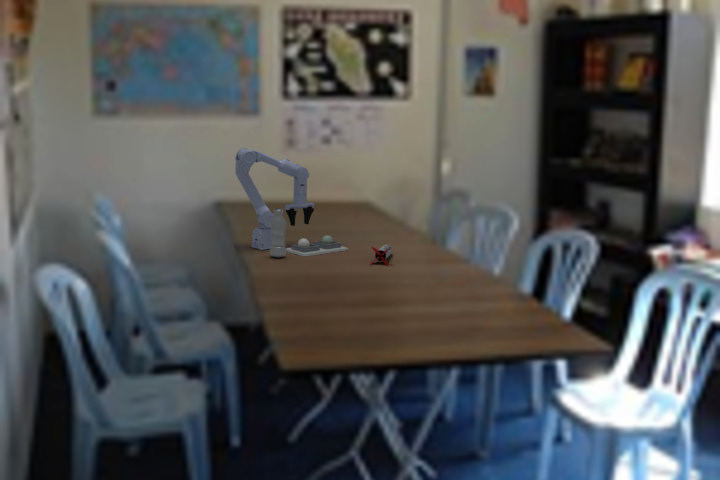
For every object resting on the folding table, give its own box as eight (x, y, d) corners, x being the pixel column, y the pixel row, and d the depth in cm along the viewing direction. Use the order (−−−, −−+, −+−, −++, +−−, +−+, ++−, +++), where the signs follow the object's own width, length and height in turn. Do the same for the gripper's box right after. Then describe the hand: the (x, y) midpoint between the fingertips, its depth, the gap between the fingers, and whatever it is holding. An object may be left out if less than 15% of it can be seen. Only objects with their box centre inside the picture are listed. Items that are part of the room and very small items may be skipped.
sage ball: (326, 248, 370) (326, 236, 369) (319, 246, 373) (319, 235, 372) (335, 247, 373) (335, 235, 372) (327, 245, 377) (328, 234, 376)
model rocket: (404, 250, 366) (389, 232, 366) (397, 257, 343) (382, 238, 344) (385, 266, 368) (370, 248, 369) (377, 274, 346) (361, 255, 346)
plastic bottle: (283, 259, 350) (284, 210, 346) (267, 258, 351) (268, 209, 347) (287, 256, 356) (288, 208, 352) (272, 255, 357) (272, 207, 353)
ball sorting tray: (304, 256, 356) (304, 249, 356) (284, 250, 367) (284, 243, 366) (348, 250, 372) (348, 243, 372) (327, 244, 382) (327, 238, 382)
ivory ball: (304, 253, 362) (301, 243, 360) (297, 251, 366) (293, 241, 364) (313, 247, 365) (309, 237, 362) (306, 245, 368) (302, 235, 366)
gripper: (292, 196, 366) (291, 227, 369) (318, 194, 376) (318, 224, 378) (282, 194, 371) (282, 225, 374) (308, 192, 381) (308, 222, 383)
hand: (299, 224), depth 376 cm, fingers open, 7 cm apart
